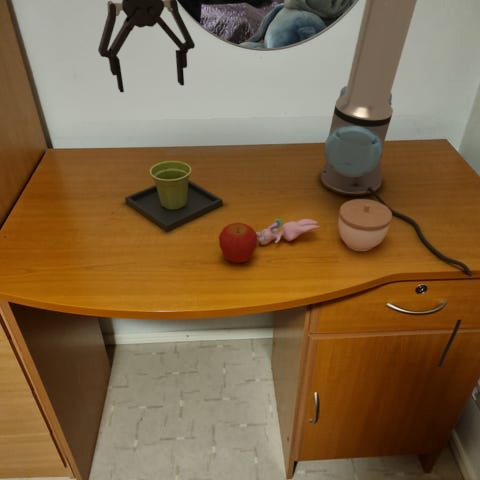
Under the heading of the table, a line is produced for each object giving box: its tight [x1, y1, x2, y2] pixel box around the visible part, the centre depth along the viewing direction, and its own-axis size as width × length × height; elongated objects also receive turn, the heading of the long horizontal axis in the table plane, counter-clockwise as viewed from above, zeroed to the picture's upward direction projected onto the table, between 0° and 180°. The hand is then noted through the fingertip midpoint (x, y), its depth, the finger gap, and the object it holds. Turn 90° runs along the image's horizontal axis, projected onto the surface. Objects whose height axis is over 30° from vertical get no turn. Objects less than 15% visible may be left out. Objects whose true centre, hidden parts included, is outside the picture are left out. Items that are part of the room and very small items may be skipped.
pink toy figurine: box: [255, 218, 321, 246], centre depth 104 cm, size 6×6×15 cm
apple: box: [218, 222, 258, 264], centre depth 98 cm, size 8×8×8 cm
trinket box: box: [337, 198, 393, 252], centre depth 101 cm, size 11×11×9 cm
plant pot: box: [149, 160, 192, 210], centre depth 113 cm, size 9×9×9 cm
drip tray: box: [124, 179, 224, 233], centre depth 115 cm, size 17×17×2 cm
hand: (151, 87), depth 107 cm, fingers open, 13 cm apart
